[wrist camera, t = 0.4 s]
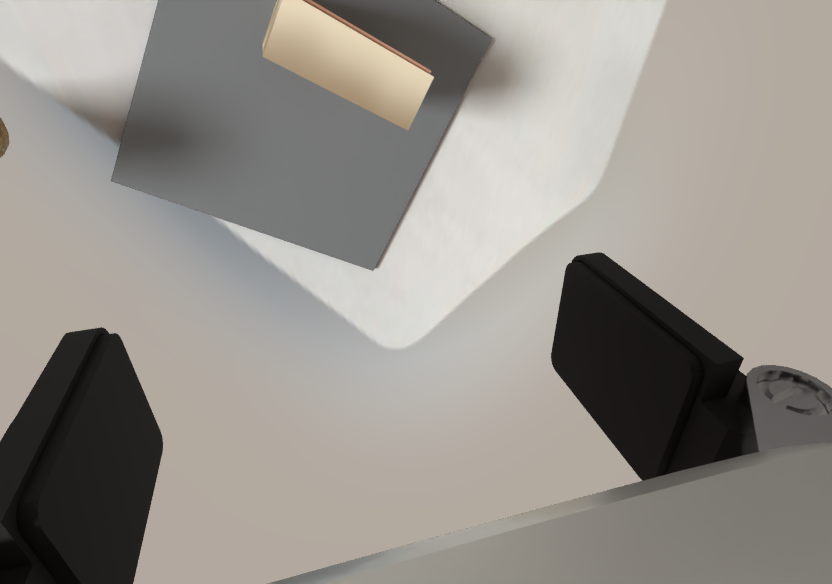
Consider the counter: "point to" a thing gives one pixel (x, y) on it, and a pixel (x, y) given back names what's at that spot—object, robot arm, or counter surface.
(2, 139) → the sprinkles bottle
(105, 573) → the robot arm
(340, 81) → the birch tile
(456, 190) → the counter surface
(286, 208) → the rubber mat
